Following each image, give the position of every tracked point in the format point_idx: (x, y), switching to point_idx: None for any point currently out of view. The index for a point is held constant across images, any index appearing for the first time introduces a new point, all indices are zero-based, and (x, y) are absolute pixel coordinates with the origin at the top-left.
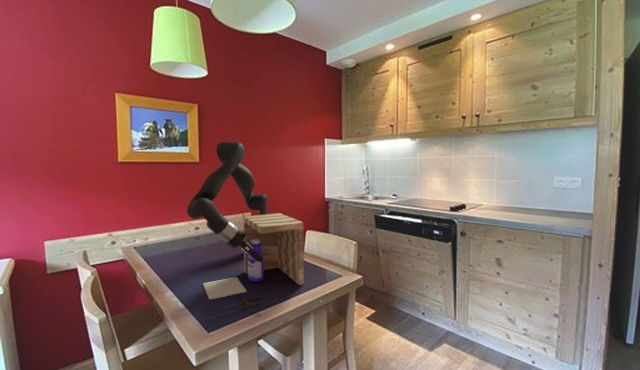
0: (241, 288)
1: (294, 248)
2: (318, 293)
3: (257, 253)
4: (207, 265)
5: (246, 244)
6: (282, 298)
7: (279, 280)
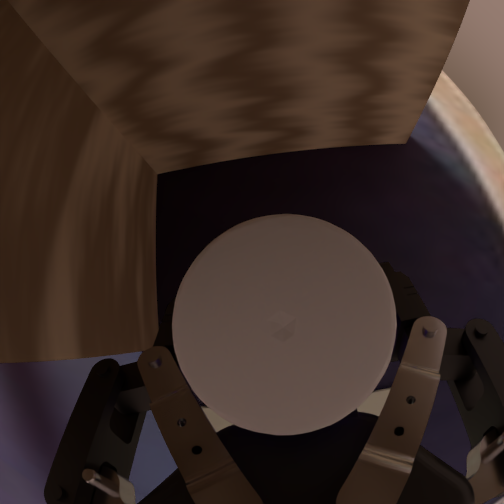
0: (367, 408)
1: (397, 15)
2: (472, 121)
3: (485, 324)
4: (34, 446)
5: (472, 494)
6: (495, 242)
7: (327, 202)
